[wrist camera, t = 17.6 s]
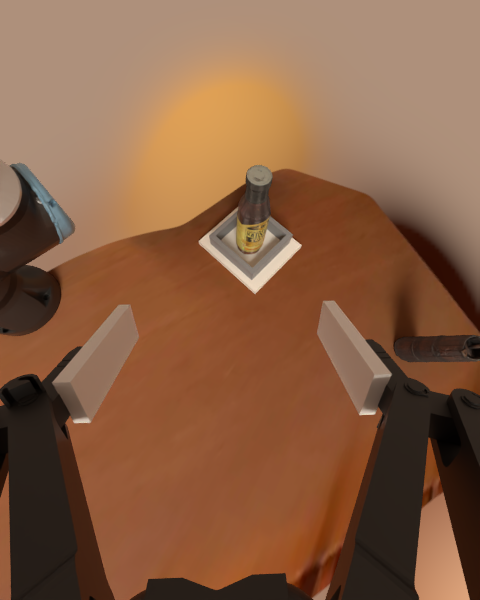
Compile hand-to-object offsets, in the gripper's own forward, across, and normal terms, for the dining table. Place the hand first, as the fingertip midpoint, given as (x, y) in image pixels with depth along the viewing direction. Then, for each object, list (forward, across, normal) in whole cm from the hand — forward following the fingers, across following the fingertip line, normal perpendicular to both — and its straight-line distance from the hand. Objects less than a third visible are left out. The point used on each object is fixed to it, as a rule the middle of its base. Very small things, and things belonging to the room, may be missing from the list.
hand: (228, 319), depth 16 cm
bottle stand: (+41, +4, -6) cm, 42 cm away
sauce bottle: (+40, +4, -6) cm, 41 cm away
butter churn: (+23, +35, -25) cm, 49 cm away
